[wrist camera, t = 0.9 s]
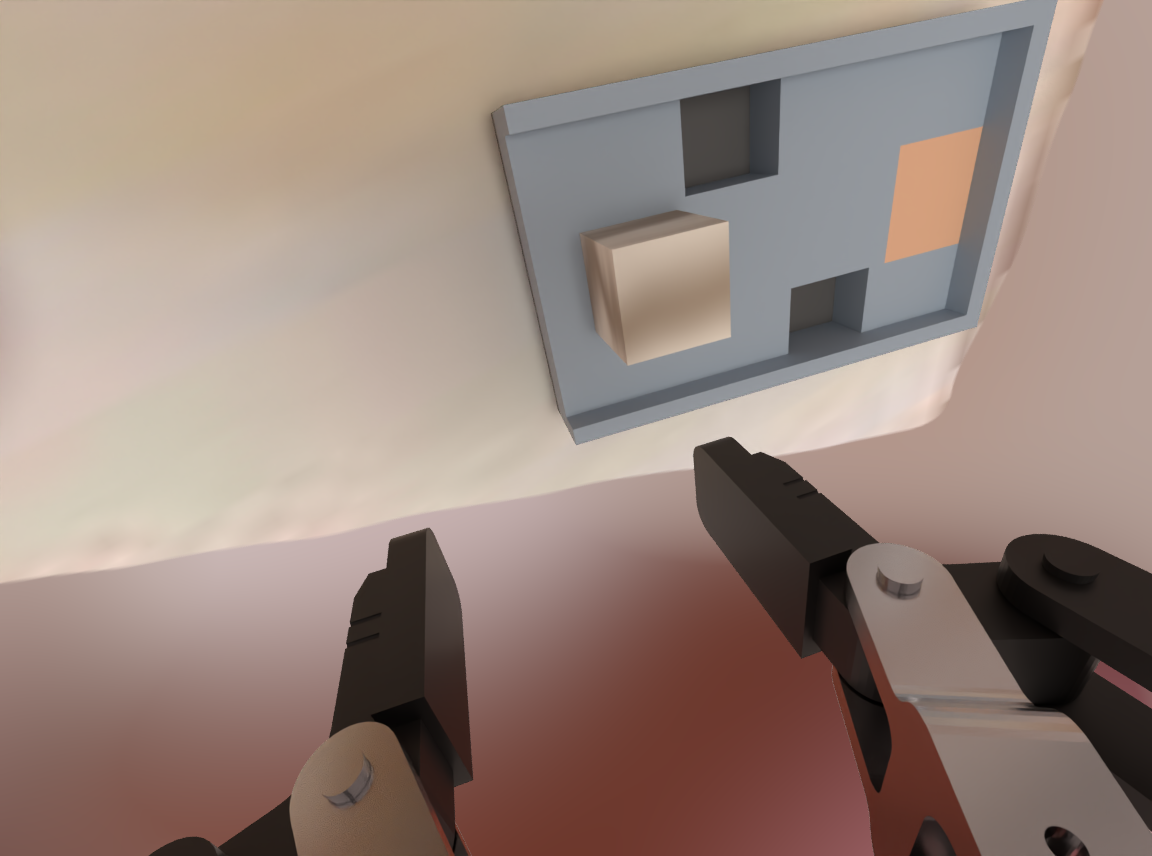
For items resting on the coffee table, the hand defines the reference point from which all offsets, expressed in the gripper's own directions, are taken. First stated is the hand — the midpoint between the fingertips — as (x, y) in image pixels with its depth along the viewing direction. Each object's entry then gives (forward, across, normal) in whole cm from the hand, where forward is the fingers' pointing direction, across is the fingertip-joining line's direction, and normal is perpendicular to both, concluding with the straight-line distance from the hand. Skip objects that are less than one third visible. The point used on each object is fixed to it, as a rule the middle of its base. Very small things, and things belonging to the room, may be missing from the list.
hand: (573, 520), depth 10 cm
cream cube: (+17, -8, 0) cm, 18 cm away
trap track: (+20, -16, 0) cm, 25 cm away
